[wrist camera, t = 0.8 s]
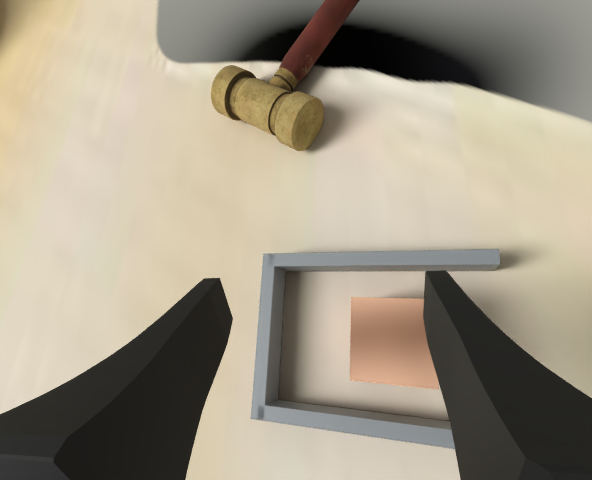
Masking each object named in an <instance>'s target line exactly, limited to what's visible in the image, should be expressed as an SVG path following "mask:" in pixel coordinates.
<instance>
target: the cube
mask: <svg viewBox="0 0 592 480" xmlns="http://www.w3.org/2000/svg"><path fill="white" fill-rule="evenodd" d="M423 308H424V299H410V298H364V297H351V347H350V380H351V381H361V382H371V383H381V384H391V385H401V386H411V387H422V388H432V389H439V384H438V378H437V374H436V371H435V368H434V364H433V361H432V357H431V354H430V351H429V347H428V343H427V338H426V332H425V326H424V320H423Z"/></svg>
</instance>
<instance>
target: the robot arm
mask: <svg viewBox="0 0 592 480" xmlns="http://www.w3.org/2000/svg"><path fill="white" fill-rule="evenodd" d="M232 320H233V318H232V315H231V311H230V308H229V305H228V302H227V299H226V296H225V293H224V290H223V287H222V284H221V281H220V278H207V279H203V280H202V281H201V282H199V283H198V284H197V285H196V286H195V287H194V288H193V289H192V290H190V291H189V292H188V293H187V294H186V295H185V296H184V297H183V298H182V299H181V300H179V301H178V302H177V303H176V304H175V305H174V306H173V307H172V308H171V309H169V310H168V311H167V312H166V313H165V314H164V315H163V316H162V317H160V318H159V319H158V320H157V321H155V322H154V323H153V324H152V325H151V326H149V327H148V328H147V329H146V330H145V331H143V332H142V333H141V334H140V335H138V336H137V337H136V338H135V339H133V340H132V341H131V342H129V343H128V344H127V345H125V346H124V347H122V348H121V349H119V350H118V351H117V352H115V353H114V354H112V355H111V356H109V357H108V358H106V359H105V360H103V361H101V362H100V363H98V364H97V365H95V366H93V367H92V368H90V369H88V370H87V371H85V372H84V373H82V374H80V375H79V376H77V377H75V378H73V379H71V380H70V381H68V382H66V383H64V384H62V385H61V386H59V387H57V388H55V389H53V390H51V391H49V392H47V393H45V394H43V395H41V396H39V397H37V398H35V399H33V400H31V401H29V402H26V403H24V404H22V405H20V406H18V407H16V408H13V409H11V410H9V411H7V412H5V413H2V414H0V480H185V478H186V474H187V469H188V465H189V460H190V456H191V452H192V448H193V444H194V440H195V436H196V432H197V429H198V425H199V421H200V417H201V414H202V410H203V407H204V404H205V401H206V399H207V396H208V393H209V391H210V388H211V386H212V383H213V380H214V378H215V375H216V372H217V370H218V367H219V365H220V362H221V359H222V357H223V354H224V351H225V348H226V346H227V342H228V338H229V334H230V330H231V325H232ZM423 320H424V326H425V332H426V338H427V343H428V347H429V351H430V354H431V357H432V361H433V364H434V368H435V371H436V374H437V378H438V381H439V385H440V388H441V391H442V395H443V398H444V401H445V405H446V408H447V412H448V416H449V420H450V425H451V430H452V435H453V440H454V445H455V451H456V456H457V461H458V467H459V472H460V478H461V480H592V398H590V397H589V396H587V395H586V394H584V393H583V392H581V391H580V390H578V389H576V388H575V387H573V386H572V385H571V384H569V383H568V382H566V381H565V380H563V379H562V378H560V377H559V376H558V375H556V374H555V373H553V372H552V371H550V370H549V369H547V368H546V367H545V366H543V365H542V364H541V363H539V362H538V361H537V360H535V359H534V358H533V357H532V356H530V355H529V354H528V353H527V352H526V351H524V350H523V349H522V348H521V347H519V346H518V345H517V344H516V343H515V342H514V341H513V340H511V339H510V338H509V337H508V336H507V335H506V334H505V333H504V332H503V331H502V330H500V329H499V328H498V327H497V326H496V325H495V324H494V323H493V322H492V321H491V320H490V319H489V318H488V317H487V316H486V315H485V314H484V313H483V312H482V311H481V310H480V309H479V308H478V307H477V306H476V305H475V303H474V302H473V301H472V300H471V299H470V298H469V297H468V296H467V295H466V294H465V292H464V291H463V290H462V289H461V288H460V287H459V285H458V284H457V283H456V282H455V281H454V279H453V278H452V277H451V276H450V274H449V273H448V272H447V271H445V270H441V271H426V273H425V291H424V308H423Z"/></svg>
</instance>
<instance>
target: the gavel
mask: <svg viewBox="0 0 592 480" xmlns="http://www.w3.org/2000/svg"><path fill="white" fill-rule="evenodd" d="M358 1H359V0H325V1H324V3H323V4H322V5H321V7H320V8H319V10H318V11H317V12H316V14H315V15H314V16H313V18H312V20H311V21H310V22H309V23H308V25H307V26H306V28H305V29H304V30H303V32H302V33H301V35H300V36H299V37H298V39H297V40H296V42H295V43H294V44H293V46H292V47H291V49H290V50H289V51H288V53H287V54H286V55H285V57H284V59H283V61H282V63H281V65H280V67H279V69H278V71H277V72H276V73H275V75H274V77H272V78H271V80H270V81H269V83H267V82H265V81H262V80H260V79H257V78H256V77H255V76H254V74H253V73H251V72H249V71H247V70H244V69H242V68H239V67H237V66H233V65H230V66H226V67H224V68H223V69H222V70H220V72H219V73H218V74H217V75H216V77H215V79H214V81H213V84H212V89H211V99H212V104H213V106H214V108H215V109H216V110H217V111H218V112H219V113H221V114H223V115H225V116H227V117H229V118H231V119H233V120H243V121H245V122H247V123H249V124H251V125H253V126H255V127H258V128H260V129H262V130H264V131H266V132H268V133H270V134H272V135H274V136H276V137H277V139H278V140H279V142H281V143H283V144H285V145H287V146H289V147H291V148H293V149H295V150H297V151H302V150H305V149H306V148H308V147H309V146H310V145H311V144H312V142H313V141H314V139H315V138H316V136H317V135H318V133H319V131H320V130H321V127H322V124H323V119H324V108H323V104H322V102H321V101H320V100H319V99H318V98H315V97H313V96H310V95H308V94H305V93H303V92H299V91H297V92H294V93H292V92H291V91H293V89H294V88H295V86H296V85H297V84H298V83H299V82H300V81H301V80H302V79H303V78H304V77H305V76H306V75H307V73H308V72H309V71H310V69H311V68H312V66H313V65H314V64H315V62H316V61H317V59H318V58H319V56H320V55H321V54H322V52H323V51H324V49H325V48H326V47H327V45H328V44H329V42H330V41H331V40H332V38H333V37H334V35H335V34H336V32H337V31H338V30H339V28H340V27H341V25H342V24H343V22H344V21H345V20H346V18H347V17H348V15H349V14H350V13H351V11H352V10H353V8H354V7H355V6H356V4H357V3H358Z"/></svg>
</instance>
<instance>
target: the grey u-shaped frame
mask: <svg viewBox="0 0 592 480" xmlns="http://www.w3.org/2000/svg"><path fill="white" fill-rule="evenodd" d="M499 265H500V255H499V249H471V250H422V251H373V252H324V253H275V254H263V266H262V279H261V292H260V306H259V319H258V332H257V345H256V358H255V371H254V384H253V397H252V410H251V419H255V420H262V421H269V422H275V423H282V424H289V425H296V426H303V427H309V428H316V429H323V430H330V431H336V432H343V433H350V434H357V435H363V436H370V437H377V438H384V439H390V440H397V441H404V442H411V443H417V444H424V445H431V446H438V447H444V448H451V449H455V445H454V440H453V435H452V430H451V425H450V421H444V420H436V419H428V418H420V417H412V416H404V415H396V414H388V413H380V412H372V411H364V410H356V409H348V408H340V407H332V406H324V405H316V404H308V403H300V402H292V401H284V400H278V390H279V374H280V357H281V341H282V324H283V308H284V292H285V275H286V271H441V270H445V271H494V270H495V269H496V268H497V267H498V266H499Z"/></svg>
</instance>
